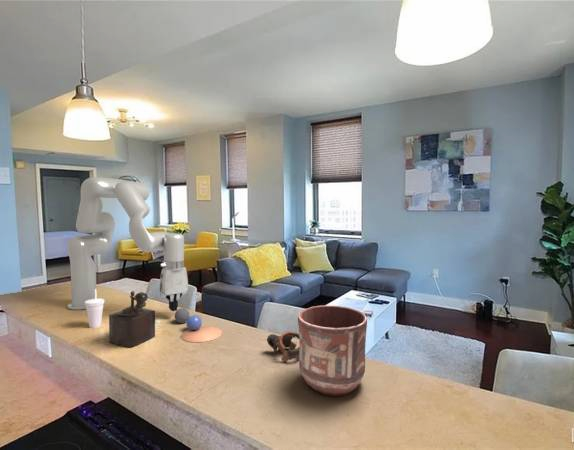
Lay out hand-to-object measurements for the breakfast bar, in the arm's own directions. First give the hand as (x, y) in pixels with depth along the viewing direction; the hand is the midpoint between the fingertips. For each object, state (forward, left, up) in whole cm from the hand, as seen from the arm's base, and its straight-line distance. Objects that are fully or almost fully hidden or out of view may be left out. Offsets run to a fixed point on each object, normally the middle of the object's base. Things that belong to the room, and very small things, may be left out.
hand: (173, 310), depth 130 cm
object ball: (+16, +2, -1) cm, 16 cm away
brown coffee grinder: (+14, -17, -4) cm, 22 cm away
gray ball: (+6, +1, -1) cm, 6 cm away
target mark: (+21, +3, -4) cm, 22 cm away
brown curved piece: (+52, +17, -4) cm, 55 cm away
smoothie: (-9, -26, -4) cm, 28 cm away
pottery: (+72, +16, -4) cm, 73 cm away
